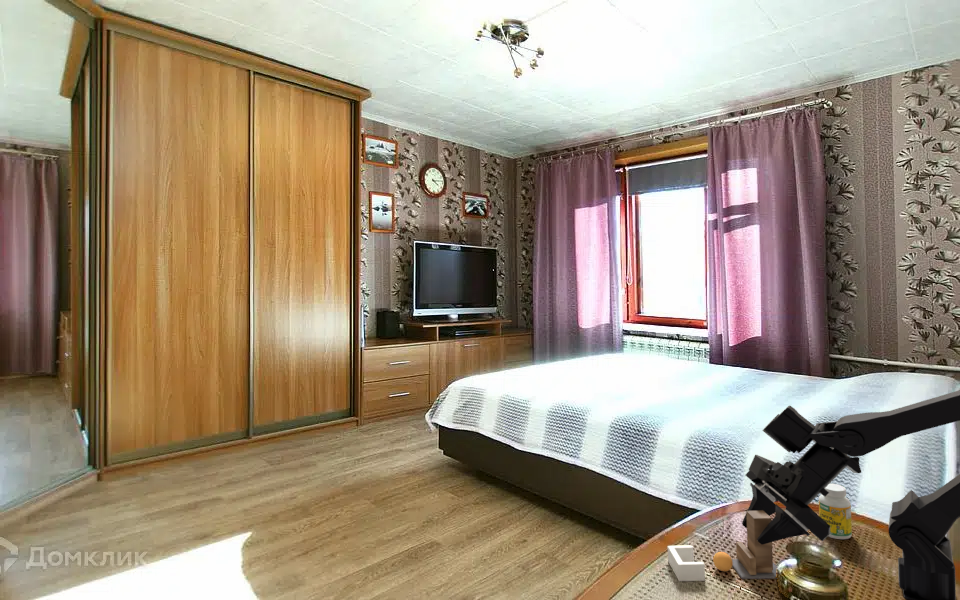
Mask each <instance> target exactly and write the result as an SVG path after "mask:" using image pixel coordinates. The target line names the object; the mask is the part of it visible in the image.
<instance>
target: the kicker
mask: <svg viewBox="0 0 960 600" xmlns="http://www.w3.org/2000/svg"><path fill="white" fill-rule="evenodd" d="M745 515H747V528H746V536H747V537H746V538H747V539H746V540H747V542H746V543H747V545H745V544H744V543H743V541H736V542H735V549H736V559H738V560H739V561H740V562H741V564H742V565H743V566H744V567H745V569H746V570H747V571H748V572H749V574H750V575H756V573H772V570H773V563H774V560H773V559H774V557H773V555H774V554H773V542H770V543H767V544H763V545H762V544H760V543H759V542H758V541H757V539H758V537H759V536H760V534H761V533H762V532H763V530H764V529H765V528H766V527H767V525H768V524H769V523H770V522H771V521H772V517H771V515H770V516H769V515H768V514H767V513H765V512H764V511H763V510H760V511H747V510H746V513H745Z"/></svg>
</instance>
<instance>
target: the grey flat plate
mask: <svg viewBox="0 0 960 600" xmlns="http://www.w3.org/2000/svg"><path fill="white" fill-rule="evenodd" d="M731 559H732V558H731ZM732 562H733V565H732V568H733V570H735V572H736V573H737V575H739V577H740V578H741V579H742V580H744V579H745V580H749V579H753V580H755V579H757V580H761V579H776V578H775V577H776V568H777V567H778V566H777V565H776V563H774V562H773V570H772V573H756V575H750V574H749V572H748V571H747V570H746V569H745V567H744V566H743V565H742V564H741V562H740V561H739V560H738V559H737V558H736V559H735V558H733V559H732Z"/></svg>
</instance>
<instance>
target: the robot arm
mask: <svg viewBox="0 0 960 600" xmlns="http://www.w3.org/2000/svg"><path fill="white" fill-rule="evenodd" d="M959 421H960V389H959V390H956V391H951V392H948V393H945V394H943V395H938V396H936V397H932V398H929V399H925V400H922V401H919V402H915V403H911V404H909V405H904V406H902V407H898V408H894V409H891V410H885V411H878V412H876V411H875V412H873V411H872V412H862V413H855V414H854V413H853V414H848V415H844V416H842V417H840V418H839V419H838V420H836V421H827V422H818V423H816V424H815V425H814V424H813V423H812V422H811V421H809V420H808V419H806V418H805V417H804V416H803V415H802V414H800V413H799V412H798V410H797V409H795V407H793V406H791V405H788V406H787V407H786V408H785V409H784V410H782V412H781V413H780V414H779V413H778V414H776V416H775V417H773V419H772V420H770V421H769V423H768V424H767V425H766V426H765V427H764V428H762V432H764V433H765V434H766V435H767V436H768V437H770V439H772V441H774V442H776V443H777V444H778V445H779V446H780V447H782V448H783V449H784V450H785V451H786V452H788V453H791V452H792V453H793V454H796V453H798V454H800V453H801V452H802V451H804V450H805V449H806V448H807V447H808V445H810V443H812V442H813V443H814V444H813V445H812V446H810V448H808V450H807V451H806V452H804V454H803V455H801V457H799V459H797V461H795V463H794V462H792V461H790V460H789V461H786V462H785V463H784V464H782V463H781V462H778V461H777V462H775V461H772V460H770V459H768V458H765V457H763V456H761V455H758V454H755V455H754V456H753V459H752V461H751V463H750V465H749V467H748V472H746V474H745V477H747V479H749V480H750V481H751V482H750V483H749V486H750V487H751V491H752V498H751V502H750V504H749V506H748V508H747V510H746V511H760V510H763V511H764V512H765V513H767V514H768V515H769V516H770V517H771V516H772V515H773V514H775V515H774V517H773V518H771V520H772V521H771V522H770V523H769V524H768V525H767V527H766V528H765V529H764V530H763V532H762V533H761V534H760V536H759V537H758V539H757V541H758V542H759V543H760V544H762V545H763V544H767V543H770V542H772V543H773V542H778V541H780V540H784V539H790V538H793V537H799V536H804V535H805V536H807V537H809V536H810V535H811V534H813V535H814V536H815V537H816V538H817V539H819V540H820V541H821V542H824V541H825V540H826V539H827V538H828V536H829V535H830V525H828V524H827V523H826V522H825V521H824V520H823V519H822V518H821V517H820V516H819V514H817V512H815V511H814V510H813V508H811V507H810V506H809V505H810V504H811V503H812V502H813V500H815V499H816V498H817V497H819V496H820V495H821V494H822V495H823V496H826V495H827V494H828V493H829V492H828V491H827V490H825V488H826V487H827V486H828V484H830V483H831V484H832V482H833V481H834V480H835V479H836V478H837V477H838V476H839V475H840V474H841V473H842V472H843V471H844V470H845V469H846V468H847V470H849V471H850V472H852V473H853V474H861V473H862V469H861V466H860V457H863V456H866V455H868V454H870V453H872V452H874V451H876V450H878V449H880V448H882V447H885V446H886V445H888V444H890V443H891V442H893V441H895V440H896V439H899V438H901V437H904V436H907V435H911V434H915V433H918V432H922V431H927V430H929V429H934V428H938V427H940V426H945V425H948V424H952V423H955V422H959ZM776 502H779V503H780V504H782V506H784V507H785V510H783V509H782V508H781V507H780V505H778V504H777V503H776ZM958 519H960V473H959V474H958V475H957V476H955V477H954V478H951V480H949V481H948V482H946V483H945V484H944V485H942V486H941V487H939V488H938V489H937V490H935V491H934V492H932V493H930V494H926V495H922V496H918V495H917V493H915V492H914V491H913V490H909V491H908V492H907V494H905V496H904V497H902V499H900V500H897V501H893V502H892V504H891V511H890V513H889V521H888V537H889V538H890V540H891V541H892V543H893V544H894V545H895V546H896V547H897V548H899V549H900V550H901V551H902V557H898V558H897V563H898V565H897V569H898V571H897V572H898V586H899V588H900V589H901V590H902V591H903V592H902V593H903V598H904V599H905V600H957V597H956V596H957V595H956V593H957V592H956V566H955V564H954V563H955V562H954V559H953V558H954V557H953V551H952V544H951V543H952V542H951V540H950V539H949V538H948V537H947V536H946V535H947V534H948V532H949V531H950V529H951V528H952V526H953V525H954V524H955V522H956V521H957V520H958ZM741 525H742V526H743V527H744V528H745V529H747V515H746V514H744V517H743V519H742V522H741ZM808 531H810V533H809V532H808Z"/></svg>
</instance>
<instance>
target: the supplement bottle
mask: <svg viewBox="0 0 960 600" xmlns="http://www.w3.org/2000/svg"><path fill="white" fill-rule="evenodd" d="M825 490H827V491H828V492H829V493H828V494H827V495H826V496H823V495H822V494H819V495H818V513H819V514H818V516H820V517H821V518H822V519H823V520H824V521H825V522H826V523H827V524H828V525H830V535H829V536H828V537H829V538H831V539H837V540H848V539H850V538H851V537H852V533H853V532H852V531H853V529H852V526H853V525H852V507H851V506H852V505H851V501H850V499H849V498H848V497H846V496H847V489H846V487H844V486H843V485H840V484H837V483H832V482H831V483H830V484H828V486H827V487H826V488H825ZM828 537H827V538H828Z"/></svg>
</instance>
